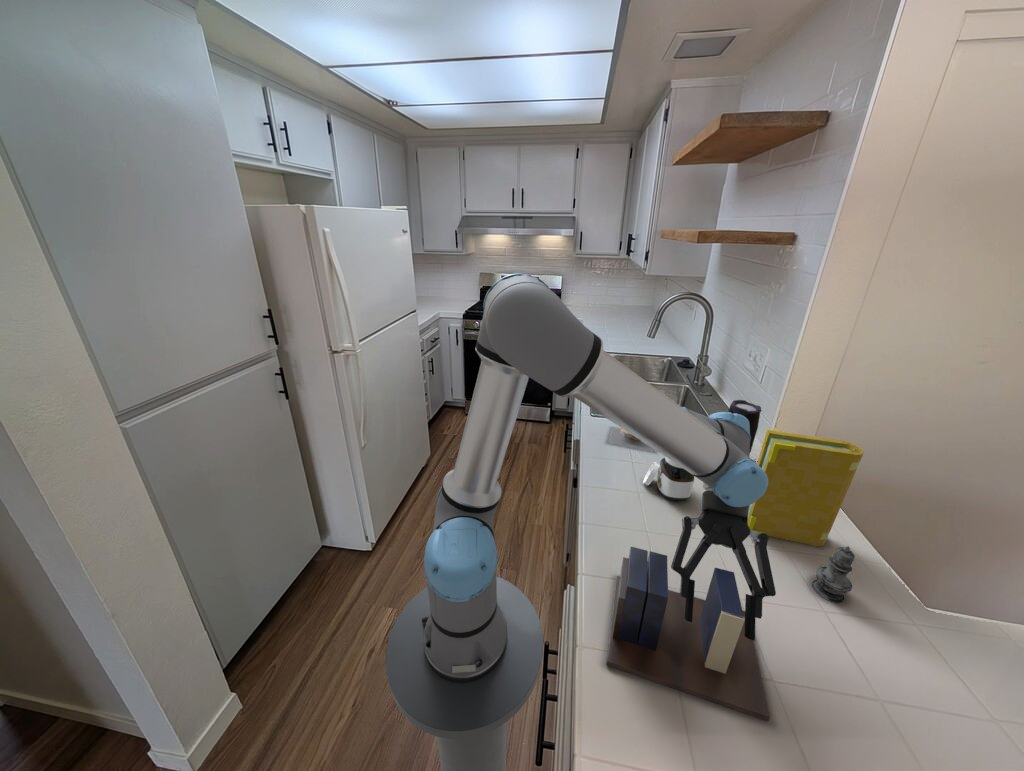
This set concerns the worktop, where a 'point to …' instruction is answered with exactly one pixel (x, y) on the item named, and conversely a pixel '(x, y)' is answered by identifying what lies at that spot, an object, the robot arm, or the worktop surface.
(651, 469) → the spread jar
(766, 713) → the book rack
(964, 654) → the worktop surface
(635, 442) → the architectural model
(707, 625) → the navy book
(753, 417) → the portable speaker
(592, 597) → the worktop surface
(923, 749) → the worktop surface
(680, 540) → the robot arm
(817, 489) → the book
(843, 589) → the chess piece
